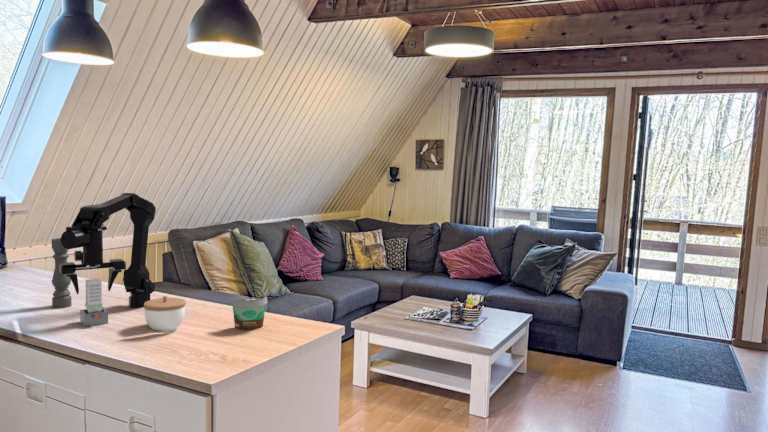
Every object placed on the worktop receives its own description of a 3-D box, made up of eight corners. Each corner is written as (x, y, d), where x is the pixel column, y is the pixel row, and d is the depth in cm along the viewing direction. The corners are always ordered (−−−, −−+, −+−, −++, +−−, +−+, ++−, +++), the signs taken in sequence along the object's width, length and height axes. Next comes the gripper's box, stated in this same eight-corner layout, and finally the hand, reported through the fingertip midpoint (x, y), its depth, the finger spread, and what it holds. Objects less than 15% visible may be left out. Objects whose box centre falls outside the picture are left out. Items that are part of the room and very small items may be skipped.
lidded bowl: (144, 325, 183) (143, 293, 182) (184, 322, 188) (184, 290, 187) (143, 337, 171) (143, 302, 170) (186, 333, 176) (186, 299, 175)
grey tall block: (99, 309, 184) (99, 278, 183) (102, 312, 180) (102, 280, 179) (85, 311, 181) (84, 279, 180) (87, 314, 178) (87, 282, 177)
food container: (234, 332, 178) (234, 302, 177) (230, 327, 184) (230, 298, 183) (271, 328, 184) (272, 299, 183) (266, 323, 189) (267, 295, 189)
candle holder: (48, 306, 202) (46, 239, 200) (63, 303, 208) (62, 237, 206) (60, 309, 200) (58, 240, 198) (75, 305, 206) (74, 238, 204)
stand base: (112, 317, 191) (112, 303, 191) (122, 327, 180) (122, 312, 179) (66, 323, 182) (66, 309, 182) (73, 334, 171) (73, 318, 171)
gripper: (118, 240, 191) (118, 284, 192) (56, 243, 180) (57, 290, 181) (126, 244, 182) (126, 290, 183) (61, 248, 171) (62, 297, 172)
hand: (93, 292), depth 180 cm, fingers open, 9 cm apart
